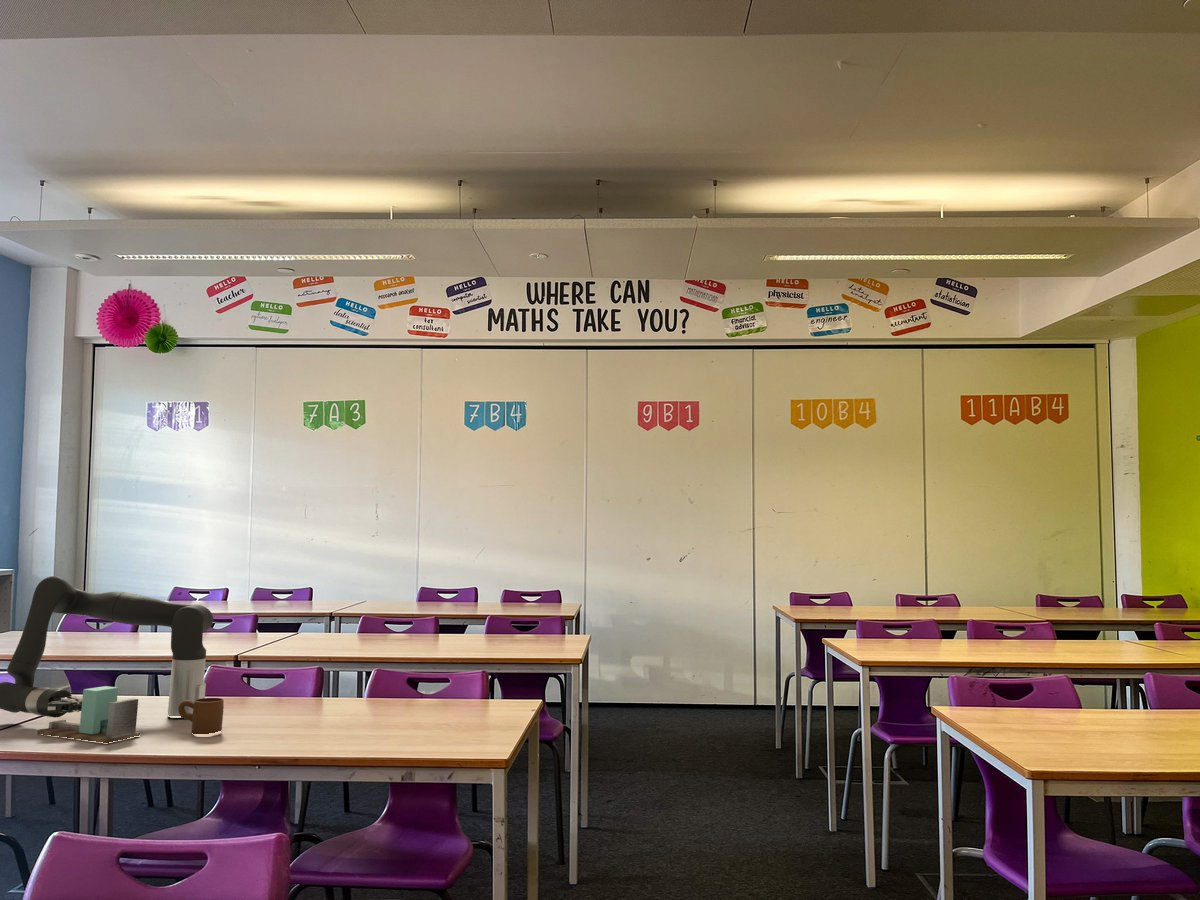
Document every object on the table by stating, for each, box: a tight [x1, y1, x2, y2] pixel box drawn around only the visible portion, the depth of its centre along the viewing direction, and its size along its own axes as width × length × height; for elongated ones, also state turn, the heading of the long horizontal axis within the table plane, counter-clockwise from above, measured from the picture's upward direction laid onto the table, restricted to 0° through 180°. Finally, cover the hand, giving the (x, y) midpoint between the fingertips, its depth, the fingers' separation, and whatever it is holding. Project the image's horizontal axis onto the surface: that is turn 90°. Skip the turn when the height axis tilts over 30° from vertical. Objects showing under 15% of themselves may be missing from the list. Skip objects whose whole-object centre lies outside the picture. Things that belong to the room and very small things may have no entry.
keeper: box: [79, 685, 119, 734], centre depth 223 cm, size 5×6×11 cm
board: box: [37, 727, 141, 743], centre depth 223 cm, size 26×10×1 cm, turn 69°
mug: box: [178, 697, 225, 734], centre depth 228 cm, size 12×8×9 cm, turn 90°
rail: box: [48, 698, 139, 739], centre depth 224 cm, size 26×7×9 cm, turn 69°
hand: (92, 707), depth 224 cm, fingers closed
